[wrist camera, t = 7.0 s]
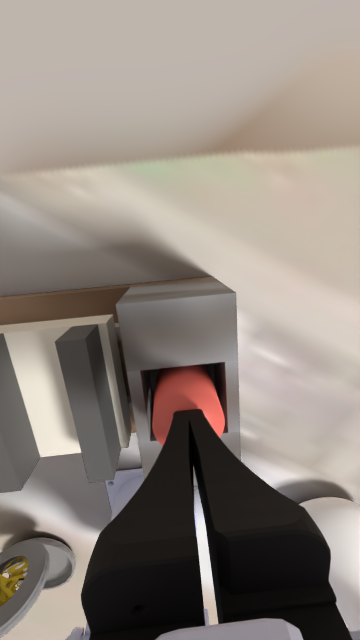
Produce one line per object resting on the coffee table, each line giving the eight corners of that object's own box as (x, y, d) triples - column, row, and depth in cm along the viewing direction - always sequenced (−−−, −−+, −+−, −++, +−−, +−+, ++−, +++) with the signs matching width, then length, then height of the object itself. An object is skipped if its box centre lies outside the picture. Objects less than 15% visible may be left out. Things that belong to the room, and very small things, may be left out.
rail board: (219, 411, 23) (241, 480, 16) (-79, 444, 22) (-183, 529, 16) (212, 276, 20) (236, 292, 13) (-139, 310, 19) (-305, 345, 12)
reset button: (212, 404, 17) (226, 450, 13) (158, 410, 17) (156, 457, 13) (209, 354, 16) (223, 388, 12) (152, 360, 16) (148, 396, 12)
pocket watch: (51, 586, 28) (-7, 762, 19) (-18, 551, 26) (-123, 727, 17) (100, 544, 27) (63, 711, 17) (30, 504, 25) (-54, 667, 15)
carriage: (132, 427, 20) (122, 478, 15) (26, 439, 20) (-14, 494, 15) (112, 314, 17) (94, 337, 13) (-10, 326, 17) (-69, 354, 13)
